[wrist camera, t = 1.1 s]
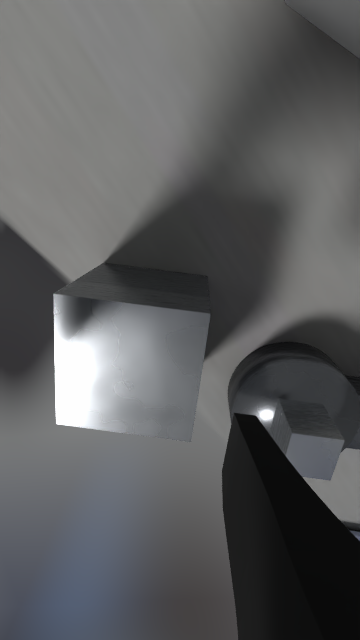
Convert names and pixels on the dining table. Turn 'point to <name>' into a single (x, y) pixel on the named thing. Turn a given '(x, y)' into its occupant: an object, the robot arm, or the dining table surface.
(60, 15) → the dining table surface
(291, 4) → the tube
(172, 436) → the brushed metal cube
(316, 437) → the bar
